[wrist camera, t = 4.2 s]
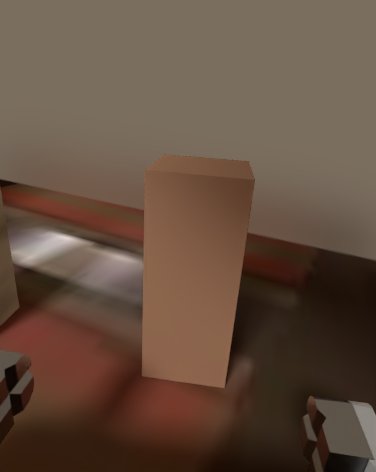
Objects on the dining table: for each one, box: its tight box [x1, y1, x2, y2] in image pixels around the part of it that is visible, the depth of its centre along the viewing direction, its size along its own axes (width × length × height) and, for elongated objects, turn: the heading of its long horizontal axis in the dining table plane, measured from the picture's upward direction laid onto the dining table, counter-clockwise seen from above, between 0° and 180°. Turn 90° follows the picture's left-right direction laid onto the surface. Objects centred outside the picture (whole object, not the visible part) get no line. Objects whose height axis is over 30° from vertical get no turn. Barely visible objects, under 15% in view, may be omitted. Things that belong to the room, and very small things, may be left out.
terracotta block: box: [142, 154, 255, 388], centre depth 17 cm, size 4×4×11 cm
